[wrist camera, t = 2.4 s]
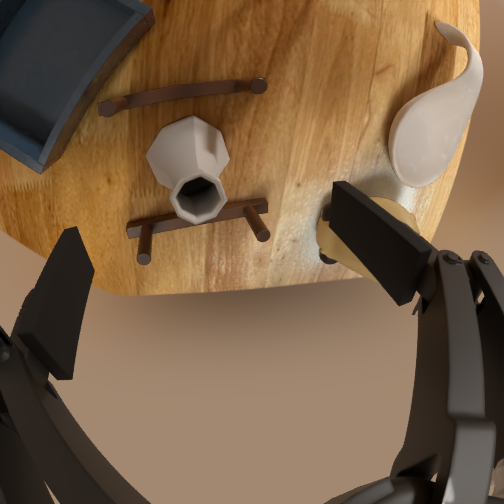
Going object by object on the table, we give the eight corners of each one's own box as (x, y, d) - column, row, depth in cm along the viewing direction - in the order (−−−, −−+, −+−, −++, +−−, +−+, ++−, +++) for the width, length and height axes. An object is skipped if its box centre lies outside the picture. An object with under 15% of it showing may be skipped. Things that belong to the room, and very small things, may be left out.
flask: (195, 100, 20) (210, 109, 13) (242, 159, 25) (281, 203, 17) (131, 154, 22) (110, 198, 14) (183, 207, 26) (192, 271, 18)
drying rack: (129, 233, 26) (123, 269, 21) (100, 102, 18) (79, 108, 13) (264, 207, 28) (286, 237, 24) (260, 78, 21) (287, 77, 16)
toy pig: (338, 174, 33) (308, 199, 25) (429, 201, 27) (432, 237, 20) (328, 241, 38) (297, 282, 30) (408, 268, 33) (398, 319, 25)
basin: (59, 158, 19) (40, 174, 16) (-32, 100, 11) (-58, 108, 8) (155, 21, 15) (152, 7, 12) (48, -30, 7) (30, -43, 4)
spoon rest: (415, 188, 33) (451, 213, 27) (358, 161, 28) (401, 185, 22) (462, 53, 21) (501, 62, 16) (414, 2, 17) (459, 1, 11)
